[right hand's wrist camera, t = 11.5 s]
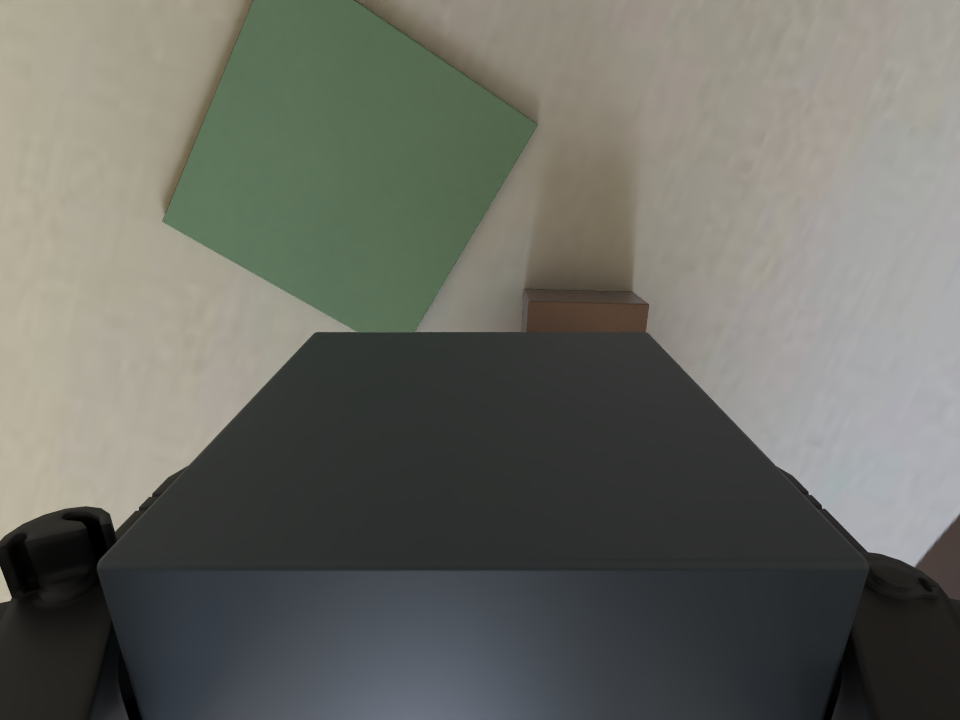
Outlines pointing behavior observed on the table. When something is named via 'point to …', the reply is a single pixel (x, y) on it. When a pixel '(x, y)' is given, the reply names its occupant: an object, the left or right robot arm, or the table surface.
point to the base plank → (583, 311)
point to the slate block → (482, 546)
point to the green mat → (344, 162)
